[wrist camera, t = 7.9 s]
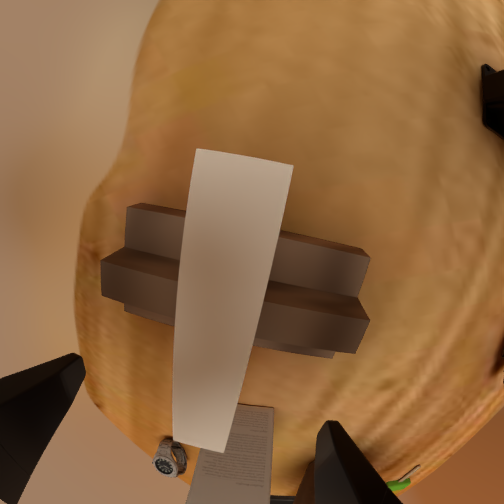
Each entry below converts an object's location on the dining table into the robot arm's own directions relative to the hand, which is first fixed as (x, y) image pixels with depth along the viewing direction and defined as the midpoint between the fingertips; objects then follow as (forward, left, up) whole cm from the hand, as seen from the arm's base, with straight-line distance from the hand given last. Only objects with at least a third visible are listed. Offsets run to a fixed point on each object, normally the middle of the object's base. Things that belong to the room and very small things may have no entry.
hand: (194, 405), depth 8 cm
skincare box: (-3, +15, -12) cm, 20 cm away
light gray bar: (0, 0, -7) cm, 7 cm away
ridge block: (0, 0, -12) cm, 12 cm away
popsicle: (-34, +35, -13) cm, 50 cm away
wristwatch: (+4, +26, -12) cm, 29 cm away
